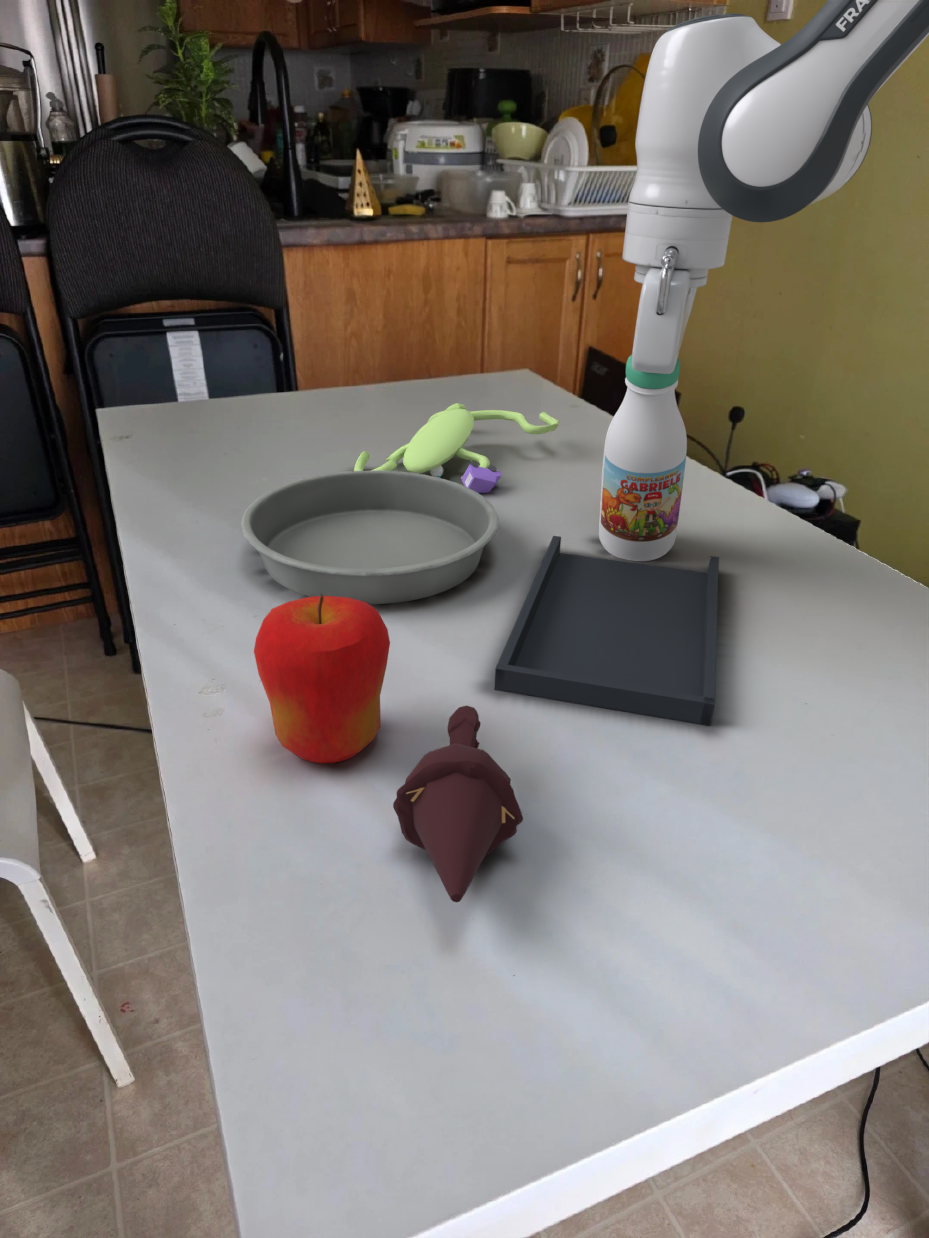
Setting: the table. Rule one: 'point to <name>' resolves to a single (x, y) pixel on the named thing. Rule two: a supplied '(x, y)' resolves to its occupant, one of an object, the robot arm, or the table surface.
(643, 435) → the milk bottle
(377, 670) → the apple
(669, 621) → the tray
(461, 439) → the figurine
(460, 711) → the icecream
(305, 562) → the cake pan
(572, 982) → the table surface
